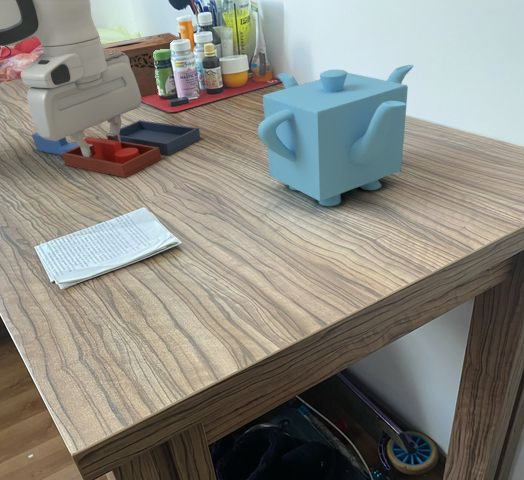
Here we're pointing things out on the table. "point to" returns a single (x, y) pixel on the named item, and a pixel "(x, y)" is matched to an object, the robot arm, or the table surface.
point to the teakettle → (335, 132)
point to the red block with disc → (111, 150)
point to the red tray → (144, 159)
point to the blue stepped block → (53, 145)
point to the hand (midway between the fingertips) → (103, 150)
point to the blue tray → (159, 135)
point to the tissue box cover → (142, 58)
